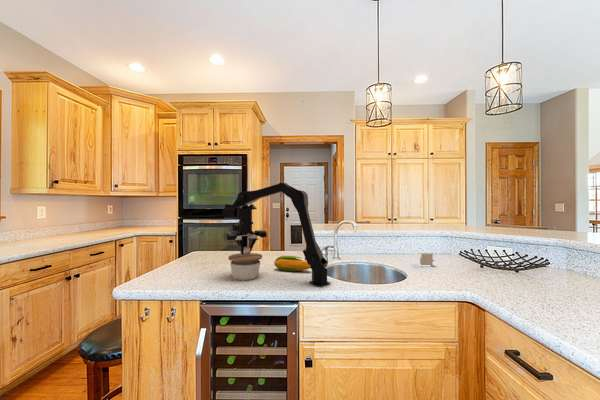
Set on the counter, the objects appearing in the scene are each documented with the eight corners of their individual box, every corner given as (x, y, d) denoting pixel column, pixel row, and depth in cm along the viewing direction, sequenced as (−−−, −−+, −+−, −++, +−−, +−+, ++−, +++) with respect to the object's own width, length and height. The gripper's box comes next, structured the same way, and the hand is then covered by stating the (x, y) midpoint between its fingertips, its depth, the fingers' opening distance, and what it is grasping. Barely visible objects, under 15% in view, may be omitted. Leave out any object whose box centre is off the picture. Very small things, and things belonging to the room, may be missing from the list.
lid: (268, 259, 119) (268, 248, 119) (235, 263, 110) (235, 251, 110) (253, 253, 131) (254, 243, 131) (223, 257, 123) (223, 246, 123)
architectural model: (419, 265, 144) (419, 252, 144) (432, 266, 143) (432, 252, 143) (421, 267, 141) (421, 253, 141) (435, 268, 140) (435, 253, 140)
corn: (277, 252, 138) (315, 255, 132) (277, 267, 138) (315, 270, 132) (271, 256, 131) (310, 259, 125) (272, 271, 131) (311, 275, 125)
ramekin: (263, 273, 127) (263, 258, 127) (256, 282, 114) (256, 265, 114) (236, 272, 128) (236, 258, 128) (225, 280, 115) (225, 264, 115)
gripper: (257, 217, 133) (257, 249, 133) (219, 219, 122) (219, 253, 122) (267, 219, 124) (267, 252, 123) (227, 220, 113) (227, 257, 113)
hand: (245, 254), depth 121 cm, fingers closed on lid, 3 cm apart
